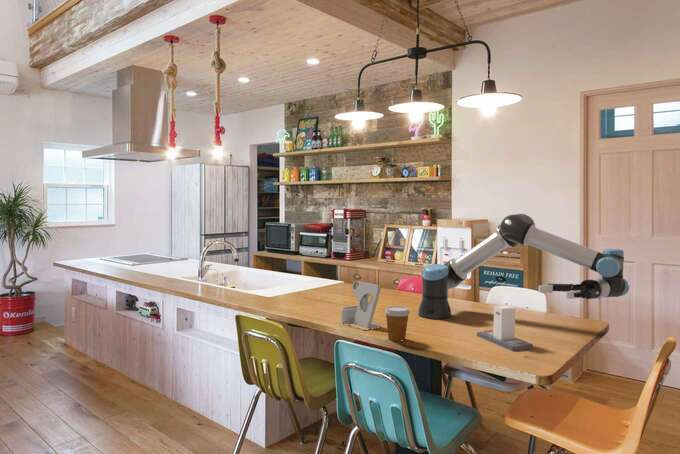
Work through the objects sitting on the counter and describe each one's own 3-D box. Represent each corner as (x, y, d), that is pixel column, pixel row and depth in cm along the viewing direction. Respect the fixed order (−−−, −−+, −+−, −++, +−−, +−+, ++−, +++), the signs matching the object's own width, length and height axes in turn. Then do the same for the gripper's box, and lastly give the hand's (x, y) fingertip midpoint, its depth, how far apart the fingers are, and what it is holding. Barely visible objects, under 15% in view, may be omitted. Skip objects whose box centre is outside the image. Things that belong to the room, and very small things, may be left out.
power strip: (476, 339, 187) (477, 330, 187) (496, 337, 190) (496, 328, 190) (512, 355, 168) (512, 344, 168) (532, 352, 172) (533, 342, 171)
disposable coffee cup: (406, 335, 191) (407, 305, 191) (411, 342, 182) (411, 311, 181) (382, 335, 191) (383, 305, 190) (385, 342, 181) (386, 311, 181)
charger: (492, 340, 180) (493, 306, 180) (506, 339, 182) (507, 305, 182) (500, 344, 176) (501, 308, 175) (514, 342, 178) (515, 307, 178)
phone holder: (338, 322, 211) (338, 281, 210) (355, 319, 218) (356, 279, 217) (364, 331, 198) (365, 287, 197) (382, 327, 204) (383, 285, 203)
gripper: (621, 304, 181) (578, 308, 174) (568, 292, 204) (528, 295, 197) (622, 284, 181) (579, 287, 173) (569, 275, 204) (529, 277, 197)
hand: (552, 292), depth 185 cm, fingers open, 13 cm apart
